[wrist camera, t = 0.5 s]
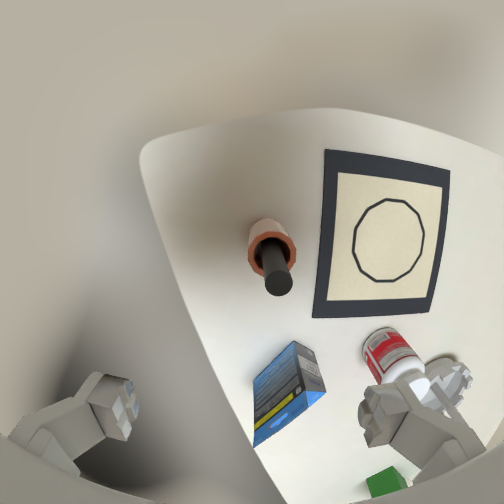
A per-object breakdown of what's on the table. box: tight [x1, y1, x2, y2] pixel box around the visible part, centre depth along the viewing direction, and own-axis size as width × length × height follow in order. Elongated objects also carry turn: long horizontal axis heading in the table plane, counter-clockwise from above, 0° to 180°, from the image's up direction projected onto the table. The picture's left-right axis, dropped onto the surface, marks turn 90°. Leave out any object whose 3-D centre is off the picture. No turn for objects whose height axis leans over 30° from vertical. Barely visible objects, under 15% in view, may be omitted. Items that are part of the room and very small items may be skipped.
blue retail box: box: [253, 341, 326, 448], centre depth 29 cm, size 9×4×12 cm, turn 144°
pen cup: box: [248, 218, 296, 277], centre depth 27 cm, size 4×4×8 cm
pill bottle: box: [363, 328, 430, 401], centre depth 29 cm, size 6×6×11 cm
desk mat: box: [312, 149, 450, 318], centre depth 30 cm, size 20×18×1 cm
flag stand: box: [420, 357, 473, 427], centre depth 23 cm, size 13×13×30 cm
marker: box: [260, 237, 293, 296], centre depth 23 cm, size 2×2×14 cm
